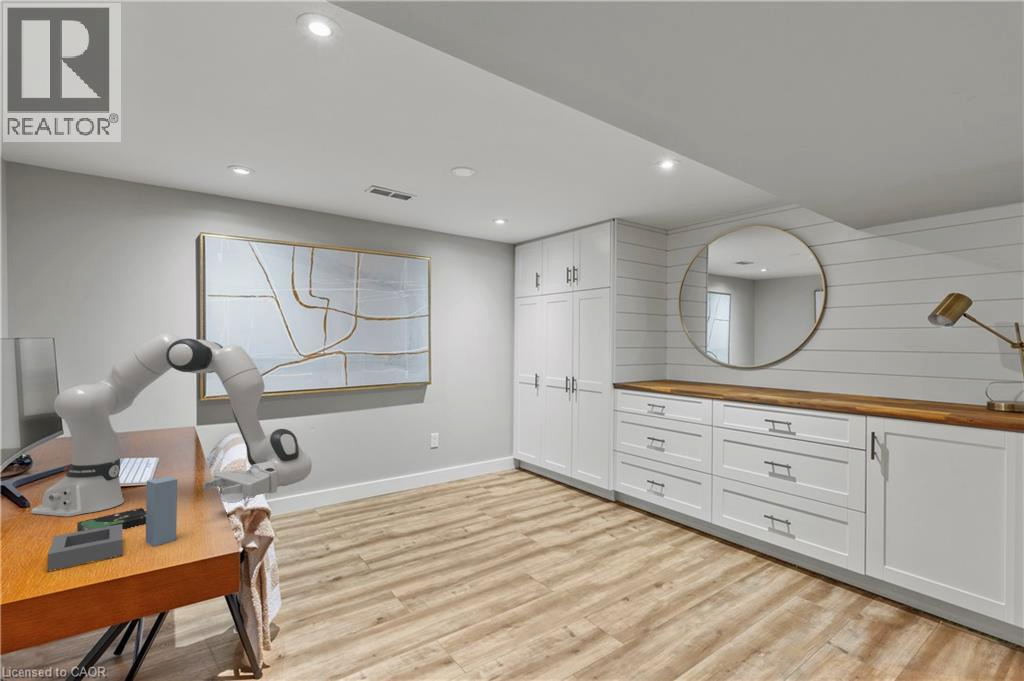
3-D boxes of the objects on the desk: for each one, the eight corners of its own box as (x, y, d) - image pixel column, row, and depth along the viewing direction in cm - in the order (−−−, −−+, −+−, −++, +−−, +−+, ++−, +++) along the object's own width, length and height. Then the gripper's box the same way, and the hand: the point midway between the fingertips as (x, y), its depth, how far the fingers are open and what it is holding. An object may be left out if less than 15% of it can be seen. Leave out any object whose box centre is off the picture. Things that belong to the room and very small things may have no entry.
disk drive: (141, 516, 142) (75, 531, 130) (141, 507, 143) (76, 521, 130) (154, 524, 137) (87, 540, 124) (155, 514, 137) (88, 530, 124)
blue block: (145, 542, 123) (146, 480, 123) (167, 535, 127) (168, 476, 127) (153, 546, 120) (155, 483, 120) (176, 540, 124) (177, 479, 124)
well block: (53, 552, 116) (53, 536, 116) (122, 539, 124) (122, 523, 125) (47, 572, 106) (47, 554, 106) (122, 556, 114) (122, 539, 115)
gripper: (242, 462, 151) (195, 472, 139) (279, 471, 140) (231, 483, 128) (242, 482, 151) (195, 494, 139) (279, 493, 140) (231, 506, 128)
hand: (212, 489), depth 134 cm, fingers open, 8 cm apart
